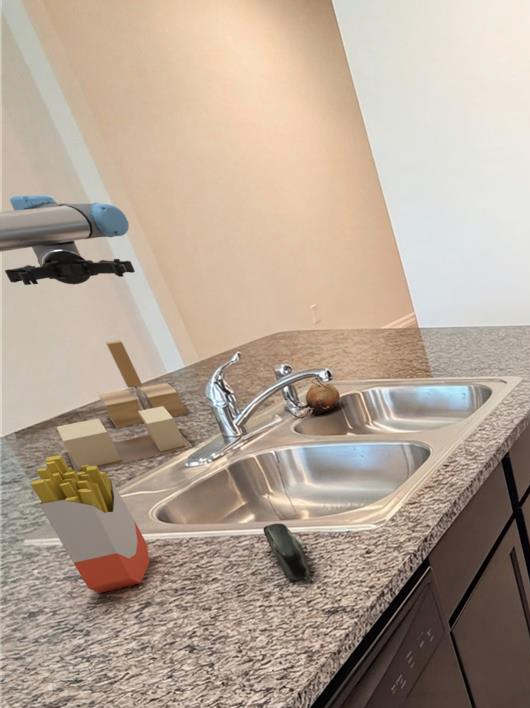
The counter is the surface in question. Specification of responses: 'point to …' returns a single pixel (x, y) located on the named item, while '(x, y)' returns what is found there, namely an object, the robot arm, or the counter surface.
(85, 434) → the beige block
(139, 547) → the french fries container
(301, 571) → the dark green zucchini
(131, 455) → the board
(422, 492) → the counter surface
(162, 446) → the beige wooden block
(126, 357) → the wooden handled screwdriver
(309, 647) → the counter surface
